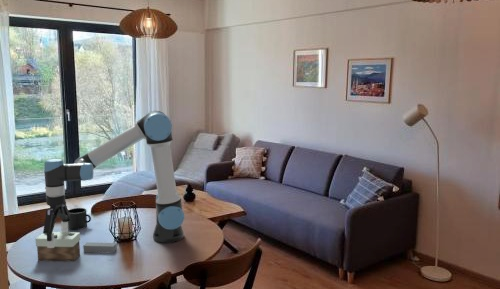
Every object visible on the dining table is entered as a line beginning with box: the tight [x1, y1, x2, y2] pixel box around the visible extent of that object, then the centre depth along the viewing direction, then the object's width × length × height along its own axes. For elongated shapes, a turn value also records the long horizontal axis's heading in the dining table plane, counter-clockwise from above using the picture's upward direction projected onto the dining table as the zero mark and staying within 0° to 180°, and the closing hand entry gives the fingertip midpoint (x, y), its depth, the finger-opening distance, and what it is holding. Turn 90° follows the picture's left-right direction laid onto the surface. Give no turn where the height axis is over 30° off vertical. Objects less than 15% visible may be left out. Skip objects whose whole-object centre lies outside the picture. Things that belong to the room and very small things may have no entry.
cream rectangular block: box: [34, 231, 81, 247], centre depth 187 cm, size 16×8×4 cm, turn 89°
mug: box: [68, 207, 92, 231], centre depth 227 cm, size 9×12×9 cm
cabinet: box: [36, 234, 81, 262], centre depth 188 cm, size 16×6×10 cm, turn 89°
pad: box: [82, 241, 118, 254], centre depth 197 cm, size 14×4×3 cm, turn 89°
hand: (58, 241), depth 187 cm, fingers open, 13 cm apart
